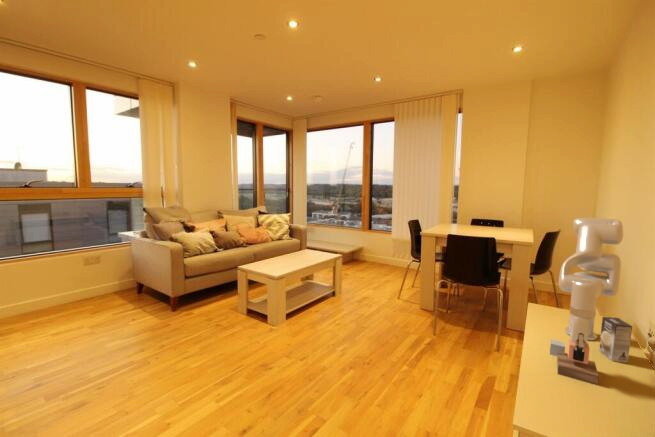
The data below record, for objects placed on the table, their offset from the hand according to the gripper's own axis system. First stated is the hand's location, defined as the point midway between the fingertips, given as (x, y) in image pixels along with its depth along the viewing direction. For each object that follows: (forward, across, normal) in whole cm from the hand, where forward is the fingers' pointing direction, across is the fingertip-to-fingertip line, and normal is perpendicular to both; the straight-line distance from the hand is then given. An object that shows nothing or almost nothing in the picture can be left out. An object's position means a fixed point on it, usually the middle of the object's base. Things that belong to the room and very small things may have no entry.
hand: (577, 356), depth 125 cm
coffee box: (+7, -25, +14) cm, 29 cm away
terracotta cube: (+1, 0, 0) cm, 1 cm away
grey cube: (+7, -13, -6) cm, 16 cm away
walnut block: (+7, 0, 0) cm, 7 cm away
